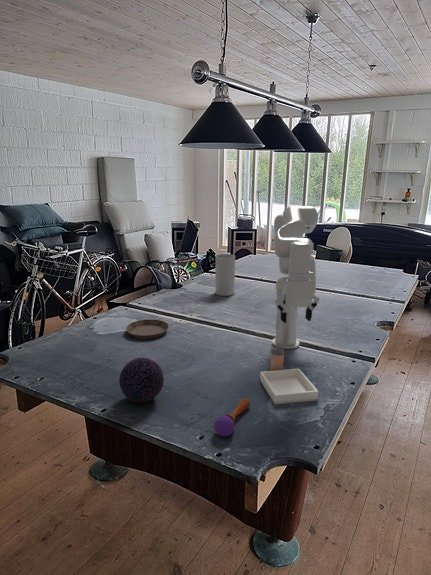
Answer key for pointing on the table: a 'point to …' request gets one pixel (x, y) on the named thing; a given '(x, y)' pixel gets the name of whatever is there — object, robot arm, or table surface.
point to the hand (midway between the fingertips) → (295, 320)
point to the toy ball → (141, 380)
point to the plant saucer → (147, 328)
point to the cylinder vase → (225, 274)
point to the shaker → (277, 359)
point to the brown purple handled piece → (229, 419)
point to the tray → (288, 386)
